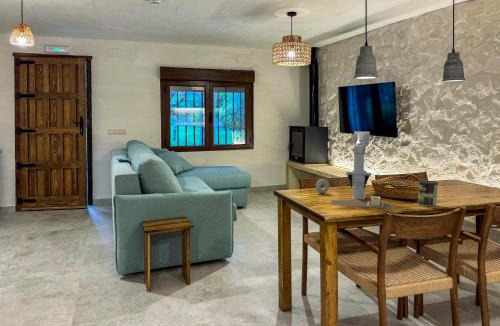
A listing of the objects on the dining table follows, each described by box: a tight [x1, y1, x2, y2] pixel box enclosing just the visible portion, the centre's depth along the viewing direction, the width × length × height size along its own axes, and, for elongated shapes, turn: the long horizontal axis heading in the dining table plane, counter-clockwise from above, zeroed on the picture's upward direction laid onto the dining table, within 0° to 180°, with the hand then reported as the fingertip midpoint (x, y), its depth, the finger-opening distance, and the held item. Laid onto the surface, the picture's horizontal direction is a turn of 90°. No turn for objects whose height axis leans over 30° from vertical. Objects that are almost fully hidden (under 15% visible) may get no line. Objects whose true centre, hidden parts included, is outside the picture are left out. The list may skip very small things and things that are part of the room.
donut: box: [315, 178, 330, 195], centre depth 284 cm, size 10×4×10 cm, turn 107°
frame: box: [366, 200, 384, 209], centre depth 248 cm, size 13×9×1 cm
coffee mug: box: [388, 180, 406, 186], centre depth 274 cm, size 13×10×10 cm
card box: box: [370, 195, 381, 206], centre depth 248 cm, size 9×5×5 cm, turn 163°
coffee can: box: [417, 179, 439, 207], centre depth 252 cm, size 10×10×14 cm
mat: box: [330, 199, 392, 210], centre depth 251 cm, size 13×34×1 cm, turn 73°
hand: (357, 187), depth 255 cm, fingers open, 7 cm apart
